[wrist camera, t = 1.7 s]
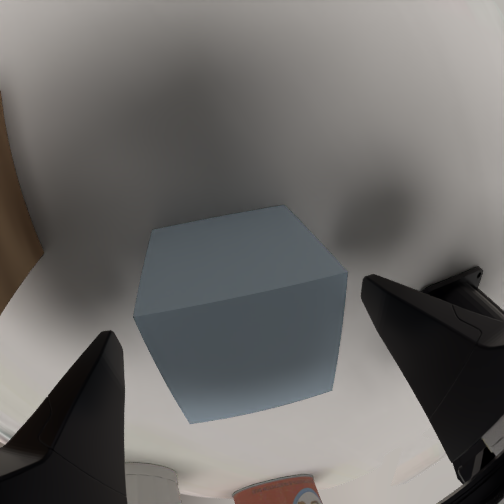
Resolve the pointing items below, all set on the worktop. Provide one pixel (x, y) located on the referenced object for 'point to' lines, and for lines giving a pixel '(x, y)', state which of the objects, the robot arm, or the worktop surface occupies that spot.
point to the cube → (241, 312)
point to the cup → (151, 484)
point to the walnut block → (13, 226)
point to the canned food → (280, 491)
